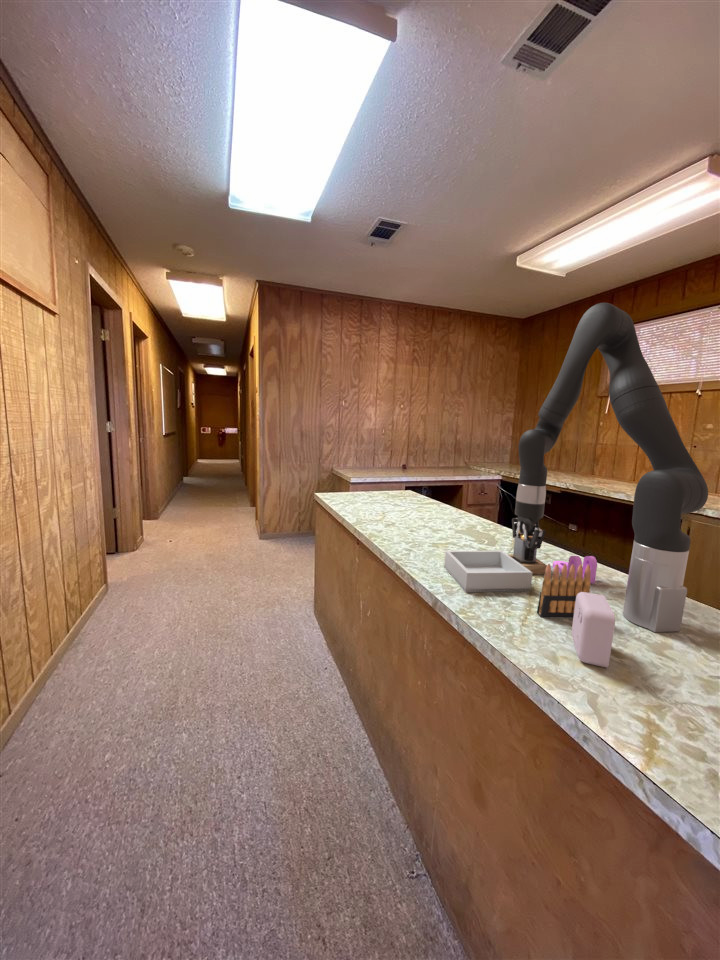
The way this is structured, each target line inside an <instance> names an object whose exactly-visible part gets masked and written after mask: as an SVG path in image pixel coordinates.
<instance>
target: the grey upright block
mask: <svg viewBox="0 0 720 960" xmlns="http://www.w3.org/2000/svg"><path fill="white" fill-rule="evenodd" d="M528 537H533V536H528ZM530 544H531V540H530ZM536 544H537V542H536ZM513 545H514V546H513V552H512V553H513V559H514V560H516V561H517V562H519V563H520V564H535V561H536V559H537V551H538V548H536V549H535V551H534V559H533V561H526V560H525V553H526V540H525V539H524V534H521V536H520V537H519V536H515V538H514V544H513Z"/></svg>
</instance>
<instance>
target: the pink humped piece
mask: <svg viewBox="0 0 720 960" xmlns="http://www.w3.org/2000/svg"><path fill="white" fill-rule="evenodd" d="M556 564H558V566H559V574H561V571H562V568H563V566H564V564H566V566H567V579H568V576H569V570H570V568H571V566H572V564H574V567H575V579H576V574H577V570H578V567H579V566H580V564H581V565H582V568H583V578H584V573H585V569H586V567H587V565H588V564H589V565H590V569H591V576H590V584H595V582H596V576H597V570H598V560H597V559H596V557H595V556H594V555H587V556H584V557H583V561H582V557H580V556H579V555H571V556H570V557H569V558H568V562H567V561H563V560H554V561H553V562H552V568H553V569H554V568H555V565H556ZM582 581H583V579H582Z"/></svg>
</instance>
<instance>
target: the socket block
mask: <svg viewBox="0 0 720 960" xmlns="http://www.w3.org/2000/svg"><path fill="white" fill-rule="evenodd" d="M506 554H507V553H506ZM507 555H509V556H510V557H512V558H513V554H509V553H508V554H507ZM521 565H523V566H524V567H526V568H527V569H528V570H530V571H531V572H533V573H532V575H545V570H546V567H547V565H548V564H546V563H544V562H543V561H541V560H540V559H538V558H536V561H535V564H521Z"/></svg>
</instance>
